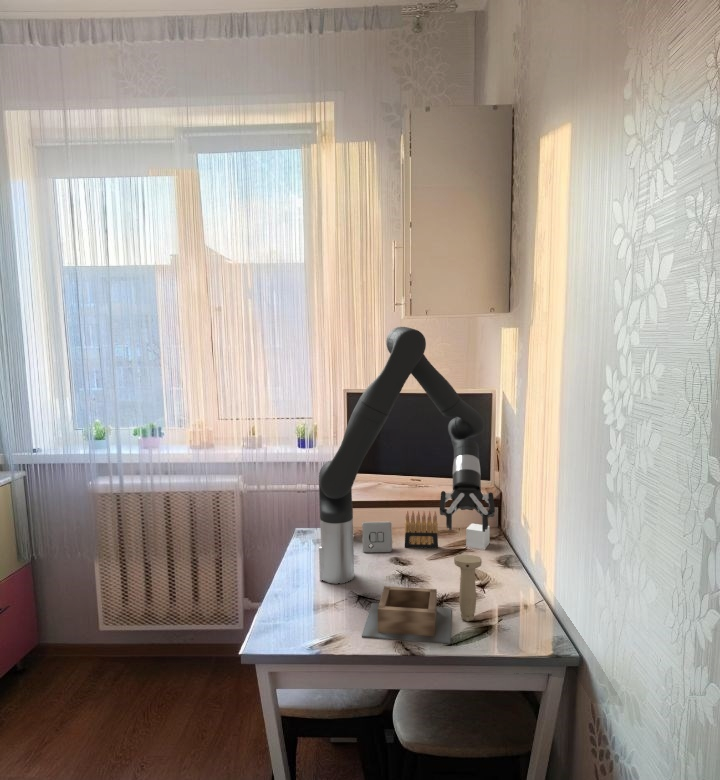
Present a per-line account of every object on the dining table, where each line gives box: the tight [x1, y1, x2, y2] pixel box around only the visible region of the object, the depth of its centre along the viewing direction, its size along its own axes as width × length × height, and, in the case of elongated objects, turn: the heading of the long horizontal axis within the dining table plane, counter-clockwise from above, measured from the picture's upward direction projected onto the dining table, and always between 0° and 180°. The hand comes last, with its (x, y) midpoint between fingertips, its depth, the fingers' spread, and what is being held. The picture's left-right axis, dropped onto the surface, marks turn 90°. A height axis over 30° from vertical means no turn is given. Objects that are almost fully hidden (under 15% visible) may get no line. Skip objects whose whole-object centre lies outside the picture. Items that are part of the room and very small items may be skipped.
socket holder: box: [361, 585, 452, 645], centre depth 139 cm, size 20×16×6 cm
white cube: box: [465, 523, 491, 551], centre depth 188 cm, size 6×6×6 cm
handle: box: [453, 554, 482, 622], centre depth 140 cm, size 5×6×15 cm
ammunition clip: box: [404, 510, 439, 549], centre depth 187 cm, size 11×2×12 cm, turn 85°
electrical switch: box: [361, 521, 393, 553], centre depth 186 cm, size 9×5×9 cm, turn 90°
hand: (467, 529), depth 150 cm, fingers open, 8 cm apart
